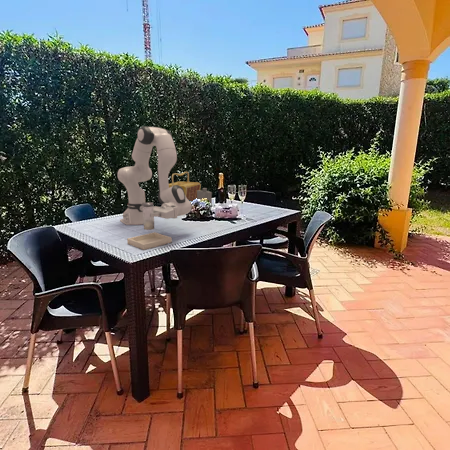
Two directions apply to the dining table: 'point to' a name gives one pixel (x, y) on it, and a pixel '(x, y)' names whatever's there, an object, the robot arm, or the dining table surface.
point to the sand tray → (149, 240)
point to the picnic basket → (187, 187)
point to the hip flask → (204, 194)
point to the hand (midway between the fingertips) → (146, 214)
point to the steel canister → (148, 216)
